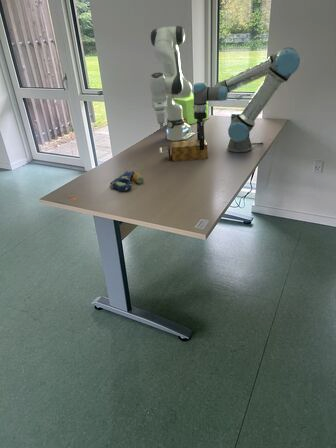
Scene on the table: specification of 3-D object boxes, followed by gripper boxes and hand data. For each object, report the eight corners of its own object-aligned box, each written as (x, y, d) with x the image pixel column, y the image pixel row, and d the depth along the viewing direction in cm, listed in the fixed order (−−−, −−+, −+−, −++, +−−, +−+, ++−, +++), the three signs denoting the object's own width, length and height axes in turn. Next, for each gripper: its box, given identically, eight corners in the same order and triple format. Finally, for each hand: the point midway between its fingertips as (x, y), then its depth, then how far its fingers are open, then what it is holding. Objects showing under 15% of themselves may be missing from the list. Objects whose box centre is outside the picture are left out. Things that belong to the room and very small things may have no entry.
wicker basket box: (172, 161, 208) (171, 147, 203) (171, 155, 217) (170, 142, 213) (207, 158, 207) (207, 144, 203) (205, 152, 217) (205, 139, 212)
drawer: (160, 160, 208) (159, 150, 204) (160, 155, 216) (159, 145, 213) (201, 156, 207) (201, 146, 204) (199, 151, 216) (199, 141, 212)
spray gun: (149, 177, 188) (127, 175, 194) (148, 170, 185) (126, 168, 192) (130, 194, 172) (106, 191, 179) (129, 187, 170) (105, 183, 176)
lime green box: (191, 115, 302) (190, 88, 290) (208, 118, 288) (208, 90, 276) (170, 121, 289) (168, 93, 277) (187, 125, 275) (185, 95, 263)
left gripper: (154, 100, 204) (156, 123, 211) (154, 107, 186) (156, 132, 194) (164, 99, 204) (166, 122, 211) (165, 106, 186) (167, 131, 193)
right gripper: (192, 107, 208) (192, 140, 220) (195, 117, 187) (196, 153, 198) (204, 106, 208) (204, 139, 219) (209, 116, 187) (209, 152, 198)
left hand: (161, 127), depth 202 cm, fingers open, 3 cm apart
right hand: (200, 146), depth 209 cm, fingers open, 13 cm apart
